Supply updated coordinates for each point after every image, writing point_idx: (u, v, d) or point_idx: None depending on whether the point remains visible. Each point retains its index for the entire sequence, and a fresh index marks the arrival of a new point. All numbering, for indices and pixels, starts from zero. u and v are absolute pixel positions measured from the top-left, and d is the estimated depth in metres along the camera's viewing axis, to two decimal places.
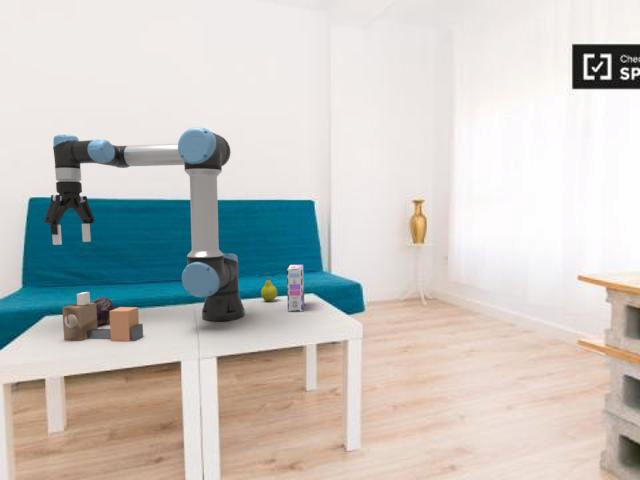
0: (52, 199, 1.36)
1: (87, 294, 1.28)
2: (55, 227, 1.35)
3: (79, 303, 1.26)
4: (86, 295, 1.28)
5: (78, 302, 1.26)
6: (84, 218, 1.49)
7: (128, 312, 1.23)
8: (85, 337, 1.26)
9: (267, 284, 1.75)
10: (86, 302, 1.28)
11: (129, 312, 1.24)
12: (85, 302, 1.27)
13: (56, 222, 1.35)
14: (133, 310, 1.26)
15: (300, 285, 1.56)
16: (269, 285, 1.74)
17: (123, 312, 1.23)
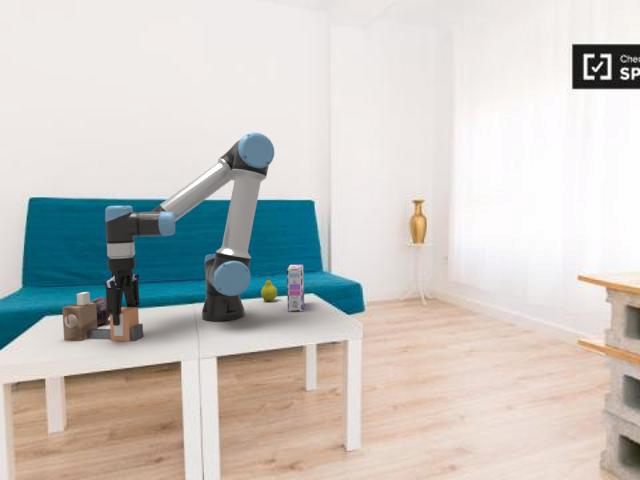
0: (107, 286, 1.19)
1: (87, 294, 1.28)
2: (118, 317, 1.22)
3: (79, 303, 1.26)
4: (86, 295, 1.28)
5: (78, 302, 1.26)
6: (130, 301, 1.28)
7: (128, 312, 1.23)
8: (85, 337, 1.26)
9: (267, 284, 1.75)
10: (86, 302, 1.28)
11: (129, 312, 1.24)
12: (85, 302, 1.27)
13: (119, 312, 1.22)
14: (133, 310, 1.26)
15: (300, 285, 1.56)
16: (269, 285, 1.74)
17: (123, 312, 1.23)
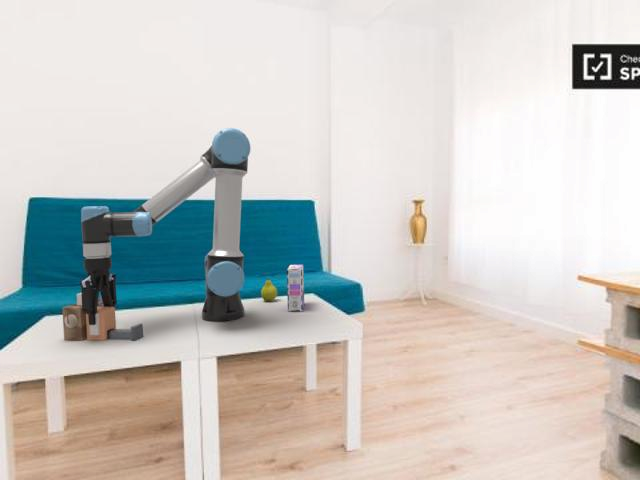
0: (82, 286, 1.20)
1: None
2: (93, 316, 1.23)
3: (79, 303, 1.26)
4: None
5: (78, 302, 1.26)
6: (107, 301, 1.30)
7: (104, 312, 1.25)
8: (85, 337, 1.26)
9: (267, 284, 1.75)
10: None
11: (105, 312, 1.25)
12: None
13: (94, 312, 1.23)
14: (109, 310, 1.27)
15: (300, 285, 1.56)
16: (269, 285, 1.74)
17: (99, 312, 1.24)
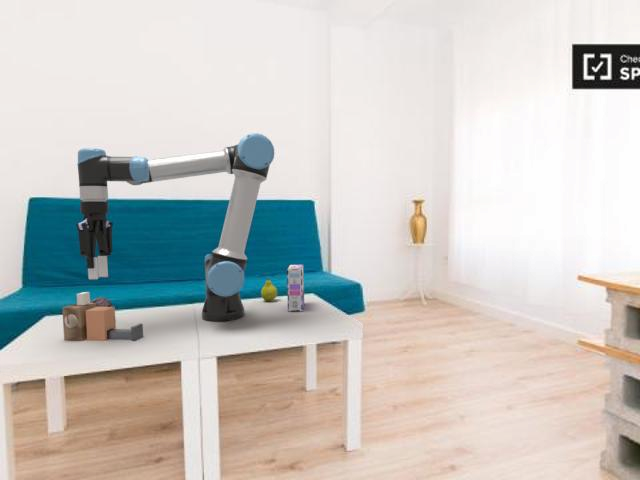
0: (79, 228, 1.20)
1: (87, 294, 1.28)
2: (92, 260, 1.23)
3: (79, 303, 1.26)
4: (86, 295, 1.28)
5: (78, 302, 1.26)
6: (102, 247, 1.28)
7: (104, 312, 1.25)
8: (85, 337, 1.26)
9: (267, 284, 1.75)
10: (86, 302, 1.28)
11: (105, 312, 1.25)
12: (85, 302, 1.27)
13: (93, 255, 1.23)
14: (109, 310, 1.27)
15: (300, 285, 1.56)
16: (269, 285, 1.74)
17: (99, 312, 1.24)
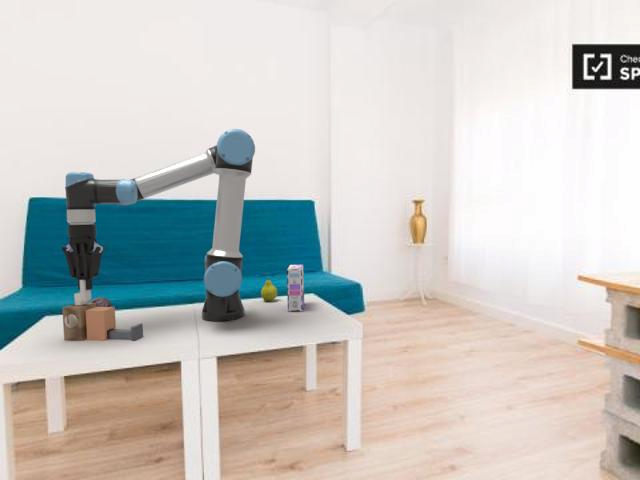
0: None
1: None
2: (79, 281, 1.27)
3: (77, 303, 1.27)
4: None
5: (76, 302, 1.27)
6: None
7: (104, 312, 1.25)
8: (85, 337, 1.26)
9: (267, 284, 1.75)
10: (84, 302, 1.28)
11: (105, 312, 1.25)
12: (82, 302, 1.27)
13: (77, 277, 1.26)
14: (109, 310, 1.27)
15: (300, 285, 1.56)
16: (269, 285, 1.74)
17: (99, 312, 1.24)
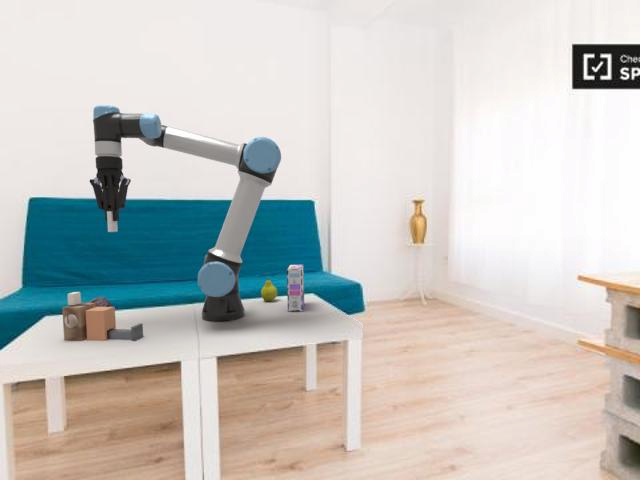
0: None
1: (78, 294, 1.29)
2: (106, 213, 1.31)
3: (70, 303, 1.27)
4: (77, 295, 1.28)
5: (69, 302, 1.27)
6: None
7: (104, 312, 1.25)
8: (85, 337, 1.26)
9: (267, 284, 1.75)
10: (77, 302, 1.28)
11: (105, 312, 1.25)
12: (75, 301, 1.27)
13: (104, 209, 1.30)
14: (109, 310, 1.27)
15: (300, 285, 1.56)
16: (269, 285, 1.74)
17: (99, 312, 1.24)
